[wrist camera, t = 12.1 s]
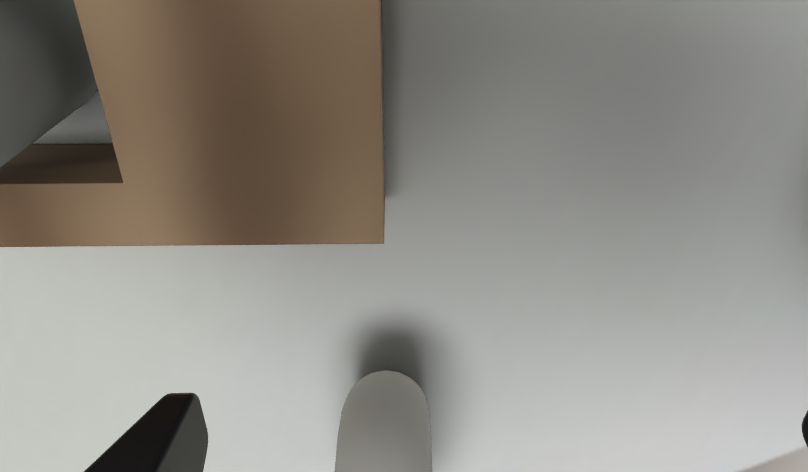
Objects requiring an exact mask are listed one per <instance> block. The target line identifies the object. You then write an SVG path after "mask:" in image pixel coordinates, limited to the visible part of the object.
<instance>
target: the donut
mask: <svg viewBox="0 0 808 472" xmlns="http://www.w3.org/2000/svg"><path fill="white" fill-rule="evenodd" d="M335 472H432V454H431V434H430V418H429V410H428V404H427V399H426V397H425V395H424V393H423V392H422V390H421V388H420V386H419V385H418V384H417V383H416V382H414V381H413V380H412V379H411V378H410V377H408V376H406V375H404V374H402V373H400V372H394V371H387V370H384V371H378V372H373V373H370V374H369V375H367V376H365V377H363V378H361V379H360V380H359V381H358V382H357V383H356V384H355V385H354V386H353V387H352V388H351V390H350V392H349V394H348V396H347V398H346V400H345V403H344V406H343V409H342V413H341V419H340V426H339V432H338V440H337V450H336V462H335Z"/></svg>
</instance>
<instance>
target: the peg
mask: <svg viewBox="0 0 808 472" xmlns="http://www.w3.org/2000/svg"><path fill="white" fill-rule="evenodd" d="M96 90H97V84H96V80H95V77H94V73H93V69H92V66H91V62H90V58H89V55H88V51H87V47H86V44H85V40H84V36H83V33H82V29H81V25H80V22H79V18H78V14H77V11H76V7H75V3H74V0H0V167H1V166H3V165H4V164H5V163H7V162H8V161H9V160H10V159H12V158H13V157H14V156H16V155H17V154H18V153H20V152H21V151H22V150H24V149H25V148H26V147H28V146H29V145H30V144H32V143H33V142H34V141H36V140H37V139H38V138H39V137H41V136H42V135H43V134H45V133H46V132H47V131H49V130H50V129H51V128H53V127H54V126H55V125H57V124H58V123H59V122H61V121H62V120H63V119H65V118H66V117H67V116H68V115H70V114H71V113H72V112H74V111H75V110H76V109H78V108H79V107H80V106H82V105H83V104H84V103H86V102H87V101H88V100H89V99H90V98H91V97H92V96H93V94H94V93H95V92H96Z"/></svg>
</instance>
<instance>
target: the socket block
mask: <svg viewBox="0 0 808 472" xmlns="http://www.w3.org/2000/svg"><path fill="white" fill-rule="evenodd" d="M74 3H75V7H76V11H77V14H78V18H79V22H80V25H81V29H82V33H83V36H84V40H85V44H86V47H87V51H88V55H89V58H90V62H91V66H92V69H93V73H94V77H95V80H96V84H97V88H98V91H99V95H100V99H101V102H102V106H103V110H104V113H105V117H106V121H107V124H108V128H109V132H110V135H111V139H112V143H113V144H36V145H29V146H28V147H26V148H25V149H24V150H22V151H21V152H20V153H18V154H17V155H16V156H14V157H13V158H12V159H10V160H9V161H8V162H7V163H5V164H4V165H3V166H1V167H0V247H48V246H162V245H276V244H384V211H385V186H384V129H383V72H382V14H381V0H74Z"/></svg>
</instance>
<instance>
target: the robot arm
mask: <svg viewBox="0 0 808 472" xmlns="http://www.w3.org/2000/svg"><path fill="white" fill-rule="evenodd" d="M802 433H803V437H804V440H805V442H806V444H807V447H808V411H807V413H806V415H805V417H804V419H803V422H802ZM207 447H208V432H207V428H206V424H205V420H204V416H203V412H202V408H201V404H200V400H199V398H198V396H197V395H196V394H194V393H170V394H167V395H165V396H164V397H162V398H161V399H160V400H159V401H158V402H157V403H156V404H155V405H154V406H153V407H152V408H151V409H150V410H149V411H148V412H146V413H145V414H144V415H143V416H142V417H141V418H140V419H139V420H138V421H137V422H136V423H135V424H134V425H133V426H132V427H131V428H130V429H129V430H127V431H126V432H125V433H124V434H123V435H122V436H121V437H120V438H119V439H118V440H117V441H116V442H115V443H114V444H113V445H112V446H111V447H110V448H108V449H107V450H106V451H105V452H104V453H103V454H102V455H101V456H100V457H99V458H98V459H97V460H96V461H95V462H94V463H93V464H92V465H91V466H89V467H88V468H87V469H86V470H85V471H84V472H203V469H204V464H205V458H206V453H207Z"/></svg>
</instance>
